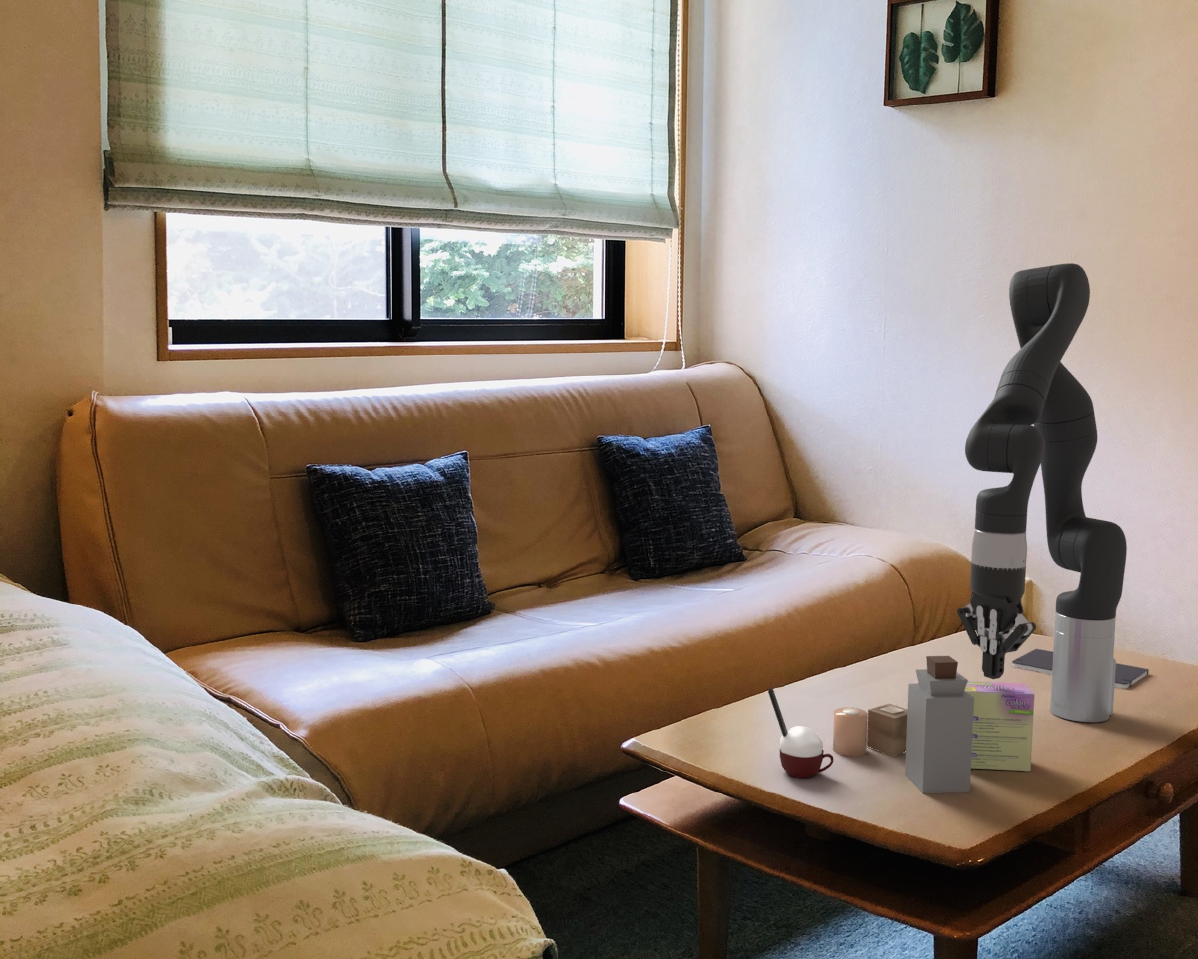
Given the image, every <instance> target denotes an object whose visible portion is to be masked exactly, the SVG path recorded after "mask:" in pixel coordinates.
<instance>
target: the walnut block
mask: <svg viewBox="0 0 1198 959" xmlns="http://www.w3.org/2000/svg"><path fill="white" fill-rule="evenodd" d="M907 712H908V708H907V709H906V708H904V707H902V706H901V707H900V706H898V705H895V704H891V703H887V704H883V705H880V706H877V707H874V708H869V709H867V713H868V720H867V746H868V747H871V748H873V749H876V750H879V751H881V752H884V753H886V754H885V755H887V754H889V755H888V756H890V755H891V756H890V757H892V756H894V757H896V756H895V755H897V756H899V755H898V754H900V753H903V752H905V751H906V738H907ZM868 747H867V748H868ZM873 749H872V750H873ZM876 750H875V751H876ZM879 751H878V752H879ZM881 752H880V753H881ZM884 753H883V754H884ZM903 754H904V753H903ZM900 755H901V754H900Z"/></svg>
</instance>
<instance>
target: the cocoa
mask: <svg viewBox="0 0 1198 959" xmlns="http://www.w3.org/2000/svg"><path fill="white" fill-rule="evenodd" d="M767 690H768V691H767V693H768V697H769V699H770V702H771V706H772V707H773V710H774V711H773V712H774V713H775V717H776V720H777V723H778V726H779V728H780V731H781V734H782V735H781V737H780V739H779V759H780V760H779V761H780V763H781V767H782V769H783V770H784V771H785V774H787V775H789V776H791V777H793V778H797V779H809V778H812V777H814V776H816V775H817V774H820V773H823V772H825V771H826V770H828V769H830V768H831V767H832V765H833V763H834V757H833V755H832V754H831V753H824V750H823V748H824V744H823V741H822V739H821V738H820V736H819V735H818V733H817V732H816V731H815V730H814V729H811V728H809V727H807V726H802V725H801V726H800V725H797V726H796V725H795V726H793V727H791V728H790V729H789V730H788V729H787V727H786V726H787V725H786V724H785V721H784V717H783V715H782V712H781V711H782V710H781V708H780V706H779V702H778V699H777V697H776V694H775V691H774V688H773V687H771V686H770V687H769V688H768V689H767ZM825 758H829V759H830V762H829V763H827V765H825V766H824V767H822V768H821V766H822V764H823V761H824V760H823V759H825Z"/></svg>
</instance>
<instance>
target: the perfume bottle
mask: <svg viewBox="0 0 1198 959" xmlns="http://www.w3.org/2000/svg"><path fill="white" fill-rule="evenodd" d="M958 664H959V662H958V661H957V660H956V659H954V658H953V657H952V656H949V655H926V669H915V673H916V677H917V678H916V679H917V681H918V683H908V690H907V709H908V712H907V738H906V753H905V763H904V764H905V766H904V768H905V770H904V775H905V776H906V777H907V778H908V780H910V781H911V783H912V784H913V785H914V786H915V787H916V788H917V789H918V790H919V791H920V792H921V793H922V794H937V793H938V794H940V793H941V794H942V793H966V792H967V793H970V791H971V774H972V773H971V770H972V768H971V754H972V732H973V710H974V697H973V696H972V695H970V694H969V693H968V692H966V691H965V687H966V684H967V682H968V681H969V679H967V678H966V677H965V676H963V675H961V673H959V672H957V670H958V666H959V665H958Z"/></svg>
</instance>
